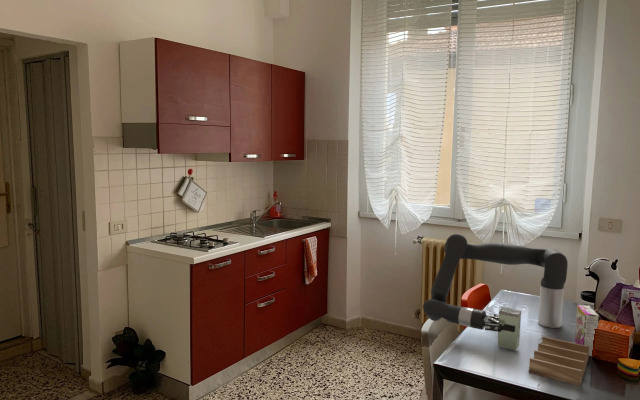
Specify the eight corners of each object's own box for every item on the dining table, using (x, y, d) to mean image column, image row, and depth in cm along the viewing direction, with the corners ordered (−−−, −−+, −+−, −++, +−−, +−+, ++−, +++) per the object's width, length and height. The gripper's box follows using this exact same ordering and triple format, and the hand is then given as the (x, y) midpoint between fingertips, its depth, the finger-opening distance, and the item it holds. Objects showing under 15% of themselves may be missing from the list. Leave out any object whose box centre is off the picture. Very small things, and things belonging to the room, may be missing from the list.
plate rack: (541, 348, 190) (542, 335, 190) (588, 358, 182) (589, 345, 181) (528, 372, 170) (529, 359, 169) (580, 385, 161) (581, 371, 160)
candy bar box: (573, 344, 195) (576, 304, 193) (586, 345, 194) (589, 305, 192) (582, 356, 184) (585, 314, 182) (596, 357, 183) (600, 315, 181)
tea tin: (500, 341, 193) (502, 307, 192) (519, 345, 190) (521, 310, 188) (497, 345, 189) (498, 310, 188) (516, 350, 185) (518, 314, 184)
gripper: (467, 314, 190) (512, 323, 181) (477, 304, 202) (521, 312, 192) (466, 332, 191) (511, 342, 181) (477, 321, 203) (520, 330, 193)
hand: (516, 327), depth 187 cm, fingers closed on tea tin, 5 cm apart
